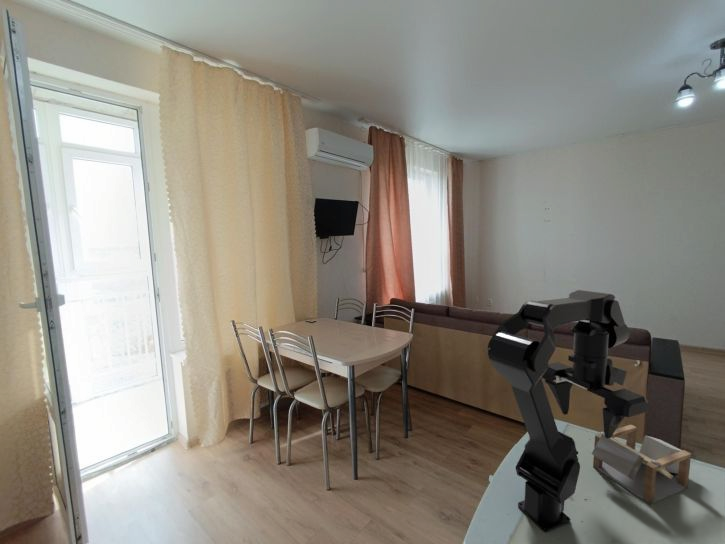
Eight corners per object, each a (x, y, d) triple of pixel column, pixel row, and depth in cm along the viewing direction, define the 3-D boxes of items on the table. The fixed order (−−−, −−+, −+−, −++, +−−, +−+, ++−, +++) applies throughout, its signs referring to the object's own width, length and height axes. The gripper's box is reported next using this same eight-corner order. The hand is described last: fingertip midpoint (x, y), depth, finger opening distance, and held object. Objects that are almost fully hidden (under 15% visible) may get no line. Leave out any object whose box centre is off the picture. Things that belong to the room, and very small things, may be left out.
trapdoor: (629, 477, 64) (643, 452, 65) (589, 452, 72) (602, 430, 72) (660, 500, 69) (673, 476, 69) (619, 474, 76) (631, 452, 77)
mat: (649, 504, 65) (649, 501, 65) (592, 466, 75) (593, 464, 75) (687, 487, 69) (687, 485, 68) (628, 454, 79) (629, 452, 79)
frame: (649, 504, 65) (653, 465, 64) (592, 466, 75) (595, 433, 74) (687, 487, 69) (691, 451, 68) (628, 454, 79) (631, 422, 78)
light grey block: (671, 448, 70) (686, 452, 73) (645, 435, 75) (660, 439, 77) (664, 470, 70) (679, 474, 72) (637, 456, 75) (653, 459, 77)
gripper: (670, 363, 61) (663, 442, 63) (575, 335, 79) (572, 397, 80) (629, 372, 57) (623, 456, 59) (539, 341, 75) (536, 406, 77)
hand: (585, 425), depth 69 cm, fingers open, 9 cm apart
